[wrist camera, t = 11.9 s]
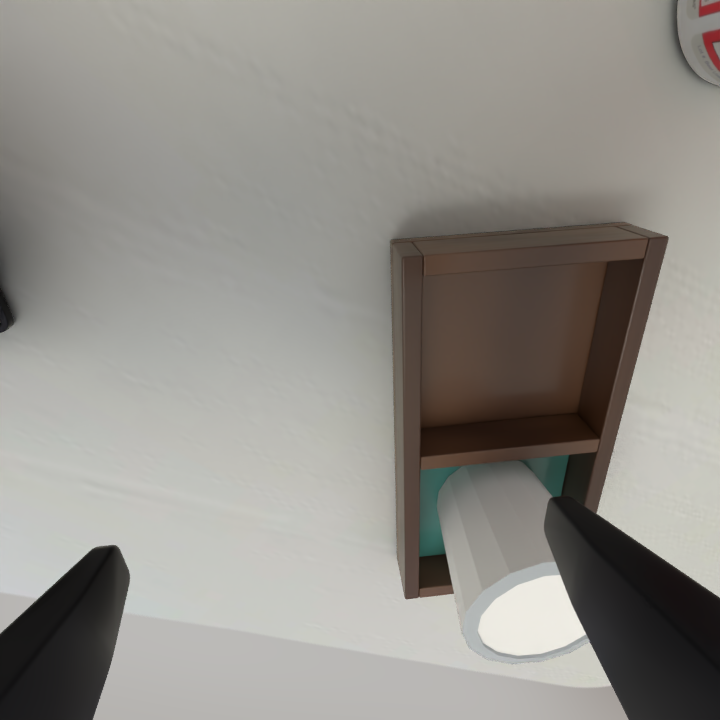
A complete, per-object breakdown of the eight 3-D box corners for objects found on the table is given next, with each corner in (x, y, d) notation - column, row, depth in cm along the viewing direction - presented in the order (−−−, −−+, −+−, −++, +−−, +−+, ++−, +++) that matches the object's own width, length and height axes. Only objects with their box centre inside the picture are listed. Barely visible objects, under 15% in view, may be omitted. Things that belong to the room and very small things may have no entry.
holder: (396, 557, 28) (405, 600, 25) (389, 239, 19) (401, 257, 16) (556, 539, 28) (579, 579, 26) (624, 221, 19) (670, 236, 17)
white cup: (546, 527, 27) (617, 650, 20) (431, 550, 27) (467, 679, 20) (549, 435, 23) (634, 547, 17) (418, 461, 23) (456, 583, 17)
